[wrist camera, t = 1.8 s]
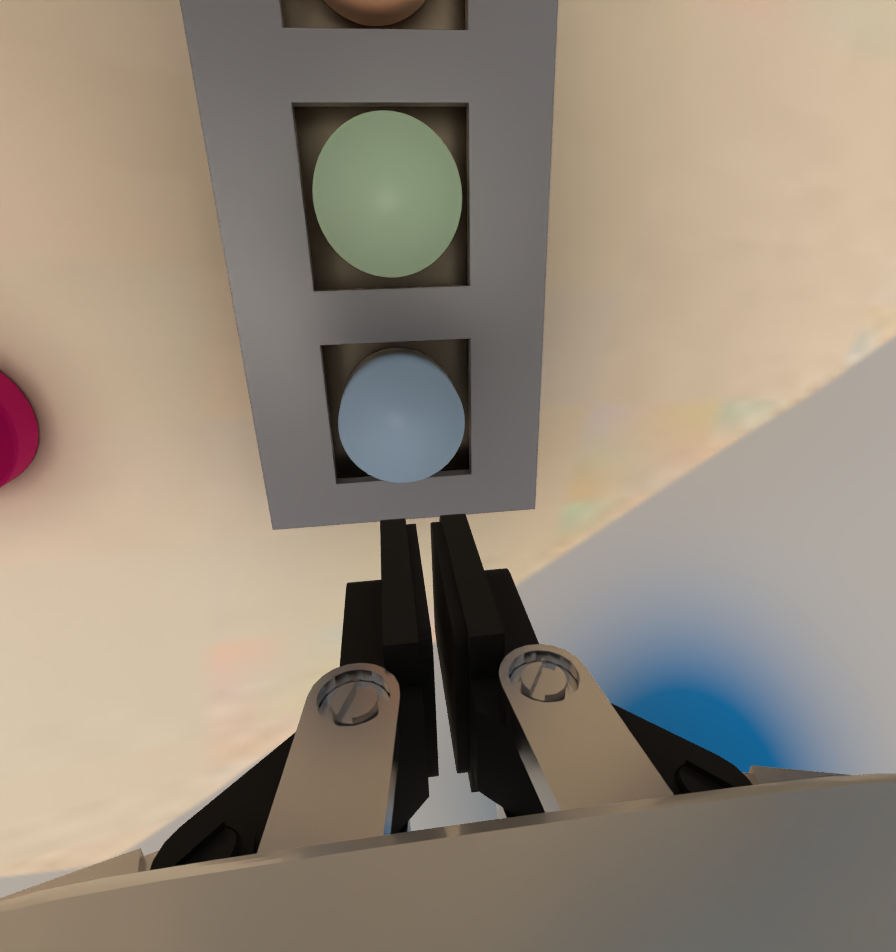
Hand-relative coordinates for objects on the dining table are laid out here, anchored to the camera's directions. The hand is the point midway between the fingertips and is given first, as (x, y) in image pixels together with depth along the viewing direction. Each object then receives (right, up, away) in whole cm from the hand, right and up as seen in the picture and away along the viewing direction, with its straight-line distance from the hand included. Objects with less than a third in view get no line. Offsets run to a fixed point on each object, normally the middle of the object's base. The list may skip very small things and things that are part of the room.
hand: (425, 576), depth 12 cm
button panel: (-2, +13, +11) cm, 17 cm away
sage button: (-2, +13, +9) cm, 16 cm away
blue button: (-2, +5, +12) cm, 14 cm away
